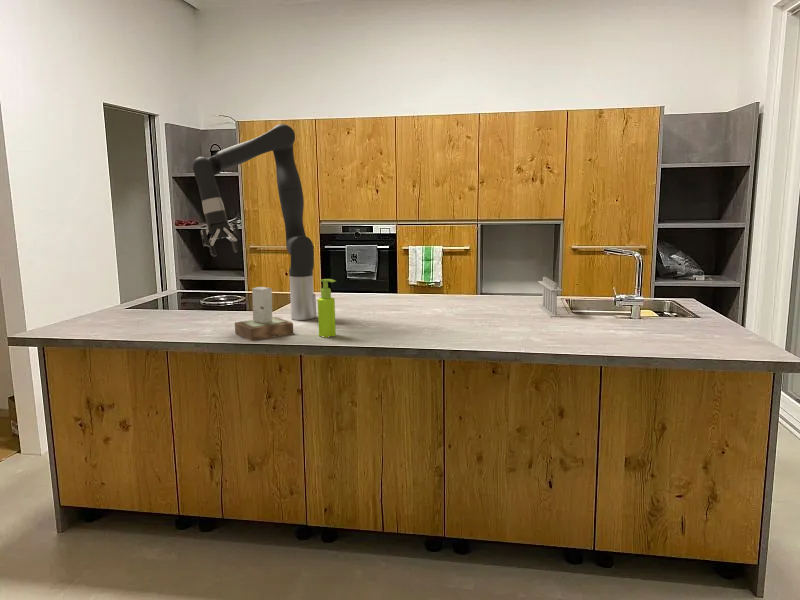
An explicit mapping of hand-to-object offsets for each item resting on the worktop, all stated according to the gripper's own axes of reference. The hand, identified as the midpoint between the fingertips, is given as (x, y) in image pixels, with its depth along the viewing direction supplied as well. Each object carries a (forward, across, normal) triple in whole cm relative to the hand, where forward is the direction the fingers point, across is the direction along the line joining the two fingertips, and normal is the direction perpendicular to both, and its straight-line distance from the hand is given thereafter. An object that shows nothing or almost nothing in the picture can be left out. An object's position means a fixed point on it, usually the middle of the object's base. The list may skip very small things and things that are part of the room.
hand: (225, 254), depth 230 cm
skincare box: (+27, 0, -16) cm, 32 cm away
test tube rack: (+53, +104, -59) cm, 131 cm away
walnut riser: (+31, 0, -16) cm, 35 cm away
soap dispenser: (+37, +14, -34) cm, 52 cm away
